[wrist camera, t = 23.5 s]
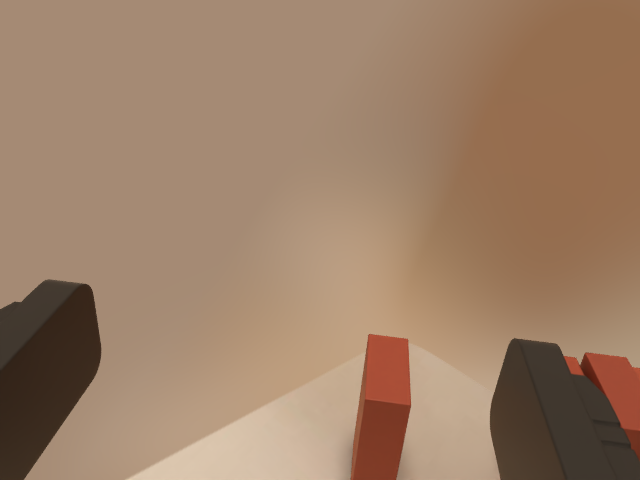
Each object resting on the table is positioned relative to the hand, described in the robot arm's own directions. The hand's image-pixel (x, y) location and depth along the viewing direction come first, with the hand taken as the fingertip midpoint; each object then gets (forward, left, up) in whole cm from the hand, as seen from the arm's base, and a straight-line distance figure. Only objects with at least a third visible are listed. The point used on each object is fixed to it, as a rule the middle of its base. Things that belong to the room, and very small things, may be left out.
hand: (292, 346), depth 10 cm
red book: (-2, +18, -25) cm, 31 cm away
